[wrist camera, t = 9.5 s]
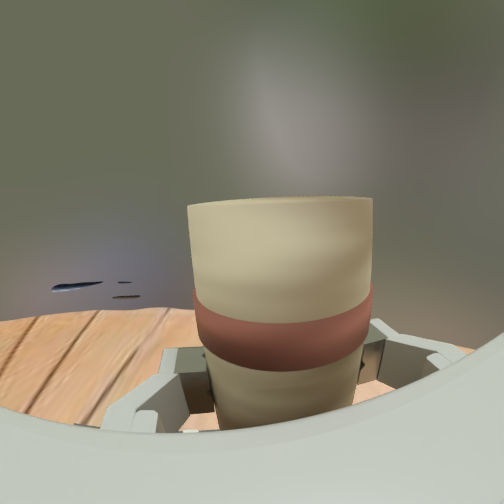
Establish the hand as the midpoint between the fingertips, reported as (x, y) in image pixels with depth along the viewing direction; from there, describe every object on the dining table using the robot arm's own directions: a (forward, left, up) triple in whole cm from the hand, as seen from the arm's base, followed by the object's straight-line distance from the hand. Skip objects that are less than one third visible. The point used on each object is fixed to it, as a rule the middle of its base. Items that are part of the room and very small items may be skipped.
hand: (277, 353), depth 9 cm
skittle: (0, -1, -7) cm, 7 cm away
